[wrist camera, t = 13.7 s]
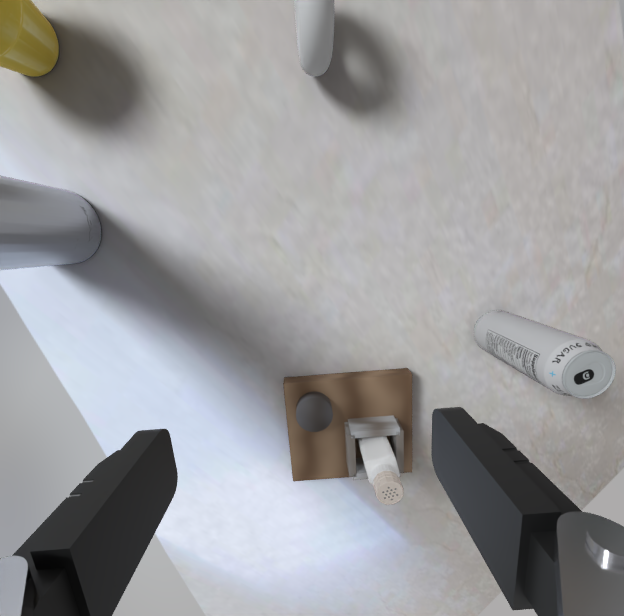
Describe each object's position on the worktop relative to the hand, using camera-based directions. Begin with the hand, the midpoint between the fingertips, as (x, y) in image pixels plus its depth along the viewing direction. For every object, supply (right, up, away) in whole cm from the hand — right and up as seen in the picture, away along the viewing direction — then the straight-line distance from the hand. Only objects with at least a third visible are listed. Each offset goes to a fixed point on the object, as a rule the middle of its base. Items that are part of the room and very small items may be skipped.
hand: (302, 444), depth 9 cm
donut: (0, +34, +25) cm, 43 cm away
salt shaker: (+9, -15, +35) cm, 39 cm away
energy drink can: (+26, +1, +33) cm, 42 cm away
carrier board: (+6, -13, +36) cm, 39 cm away
